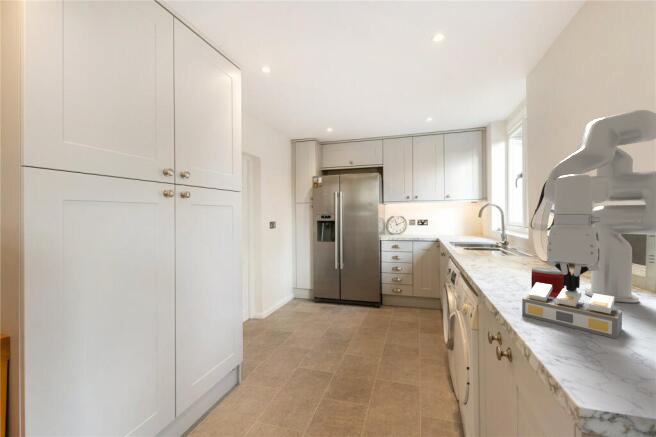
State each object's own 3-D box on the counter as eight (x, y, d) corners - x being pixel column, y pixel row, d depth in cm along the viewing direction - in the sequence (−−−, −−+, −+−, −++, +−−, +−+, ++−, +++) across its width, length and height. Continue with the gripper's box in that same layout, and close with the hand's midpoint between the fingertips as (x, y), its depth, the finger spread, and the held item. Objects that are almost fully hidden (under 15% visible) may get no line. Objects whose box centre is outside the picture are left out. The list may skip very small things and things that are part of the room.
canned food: (570, 309, 79) (570, 272, 79) (539, 307, 81) (540, 271, 81) (554, 301, 87) (554, 267, 86) (526, 299, 88) (526, 266, 88)
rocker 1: (536, 286, 78) (536, 282, 78) (552, 289, 75) (552, 284, 75) (529, 298, 74) (528, 293, 74) (545, 301, 71) (545, 296, 71)
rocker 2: (563, 292, 73) (563, 287, 73) (581, 296, 70) (581, 290, 70) (556, 302, 69) (556, 297, 69) (575, 306, 66) (575, 301, 66)
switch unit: (532, 308, 80) (532, 292, 80) (621, 328, 65) (622, 309, 65) (521, 315, 74) (521, 298, 74) (616, 339, 60) (617, 318, 60)
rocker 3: (594, 298, 69) (593, 292, 68) (614, 301, 66) (614, 296, 65) (588, 309, 64) (588, 303, 64) (610, 313, 62) (610, 307, 61)
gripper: (615, 222, 68) (614, 294, 68) (541, 221, 79) (541, 282, 79) (610, 222, 63) (609, 299, 63) (533, 220, 75) (532, 285, 75)
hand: (571, 289), depth 71 cm, fingers closed
